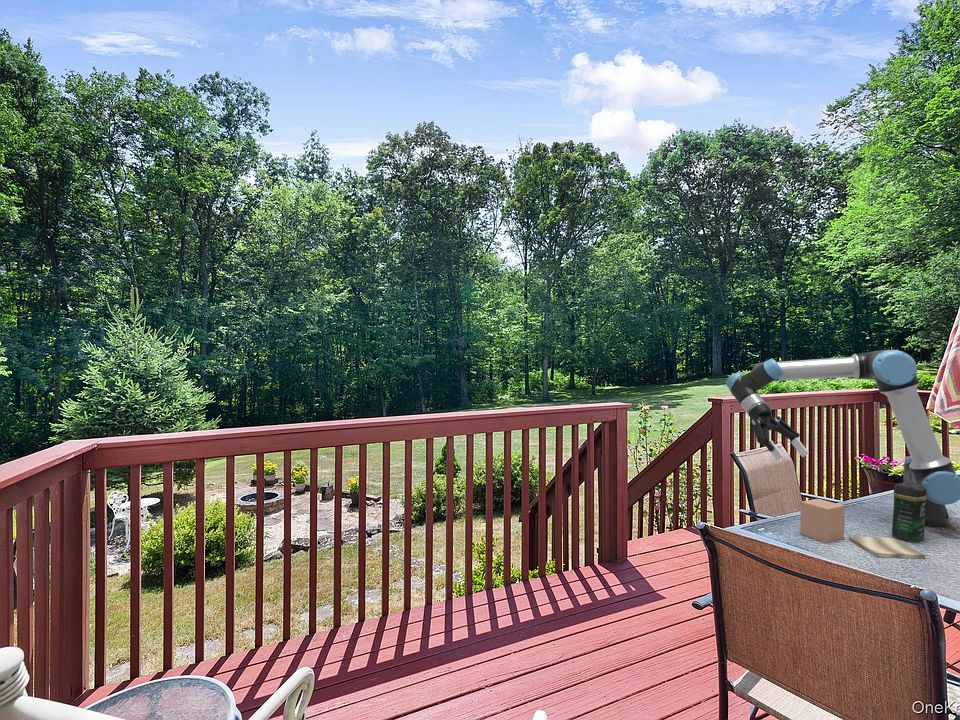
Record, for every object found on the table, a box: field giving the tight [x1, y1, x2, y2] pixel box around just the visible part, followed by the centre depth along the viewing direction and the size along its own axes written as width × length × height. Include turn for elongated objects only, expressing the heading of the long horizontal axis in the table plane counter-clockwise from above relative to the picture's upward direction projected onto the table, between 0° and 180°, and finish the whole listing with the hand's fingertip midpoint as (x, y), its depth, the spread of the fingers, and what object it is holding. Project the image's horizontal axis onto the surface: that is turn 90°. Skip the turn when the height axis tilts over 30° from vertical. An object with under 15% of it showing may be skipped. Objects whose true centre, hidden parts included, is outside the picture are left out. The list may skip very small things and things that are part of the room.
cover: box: [799, 498, 846, 544], centre depth 183 cm, size 9×9×11 cm
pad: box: [848, 536, 926, 560], centre depth 172 cm, size 14×14×1 cm
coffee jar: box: [891, 481, 926, 543], centre depth 182 cm, size 10×8×19 cm
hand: (793, 456), depth 192 cm, fingers open, 13 cm apart
